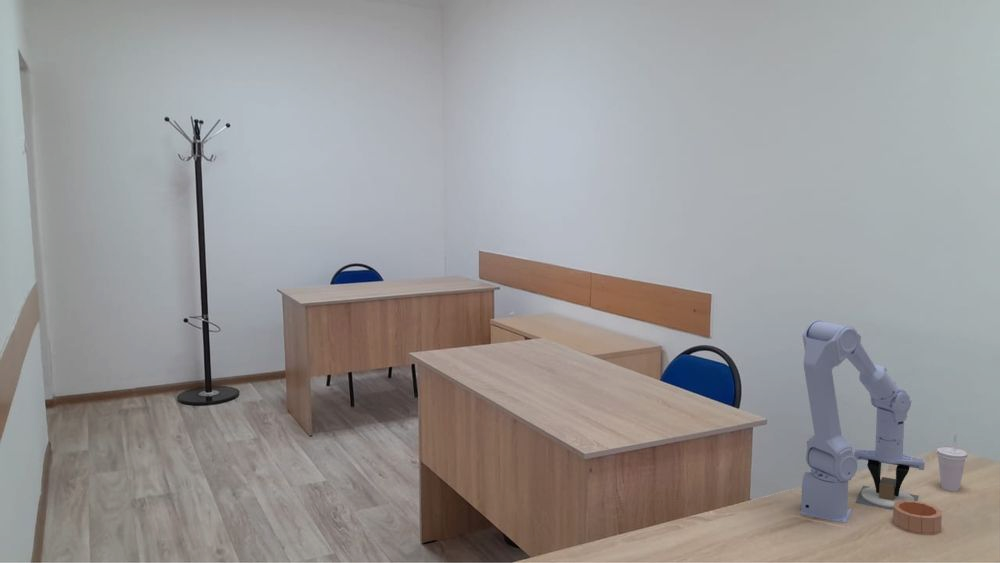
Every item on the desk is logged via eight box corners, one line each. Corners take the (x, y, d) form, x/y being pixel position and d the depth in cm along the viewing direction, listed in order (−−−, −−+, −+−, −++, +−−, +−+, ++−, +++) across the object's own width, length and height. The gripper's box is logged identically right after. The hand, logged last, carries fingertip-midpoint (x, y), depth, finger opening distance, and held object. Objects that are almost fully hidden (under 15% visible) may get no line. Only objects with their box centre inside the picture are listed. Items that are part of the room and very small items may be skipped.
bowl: (890, 529, 157) (891, 511, 156) (895, 514, 164) (896, 497, 164) (939, 539, 152) (940, 521, 151) (942, 523, 159) (942, 505, 159)
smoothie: (964, 497, 173) (966, 439, 171) (933, 491, 177) (935, 435, 175) (966, 488, 178) (969, 432, 177) (936, 482, 182) (938, 428, 180)
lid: (858, 502, 170) (858, 484, 170) (864, 486, 179) (865, 469, 179) (911, 512, 164) (912, 494, 164) (915, 495, 173) (916, 478, 173)
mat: (855, 504, 170) (855, 502, 170) (862, 487, 180) (863, 485, 180) (913, 515, 164) (914, 513, 163) (918, 497, 173) (918, 495, 173)
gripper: (926, 437, 169) (924, 493, 171) (858, 428, 178) (856, 481, 179) (924, 446, 164) (921, 504, 165) (853, 435, 172) (851, 491, 173)
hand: (887, 493), depth 172 cm, fingers open, 3 cm apart
